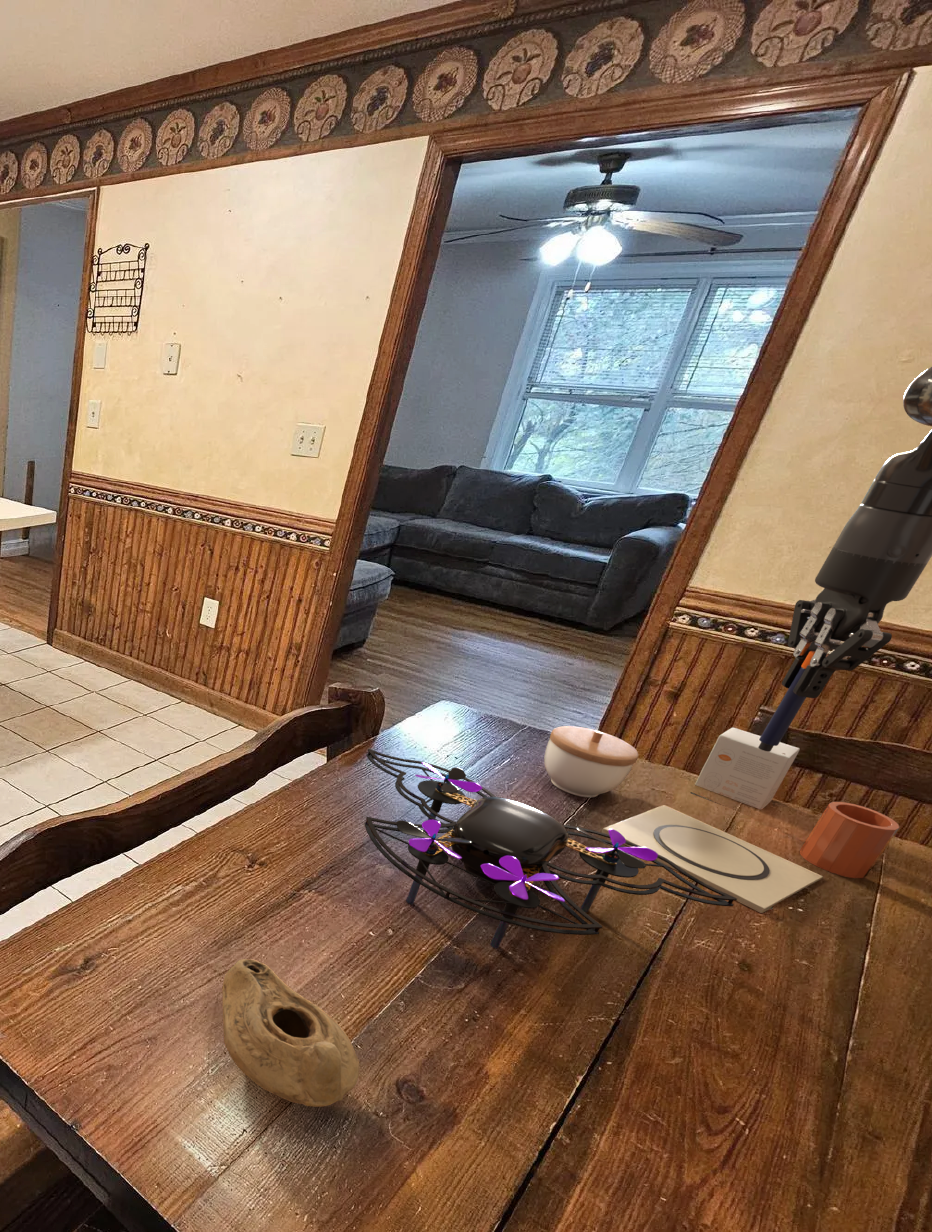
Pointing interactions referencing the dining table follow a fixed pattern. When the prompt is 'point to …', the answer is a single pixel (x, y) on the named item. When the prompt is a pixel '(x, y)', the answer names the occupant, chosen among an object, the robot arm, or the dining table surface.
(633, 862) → the drone
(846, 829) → the pen cup
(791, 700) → the marker
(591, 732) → the trinket box
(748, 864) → the drawing pad
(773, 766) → the small box
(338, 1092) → the oil lamp
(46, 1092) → the dining table surface
